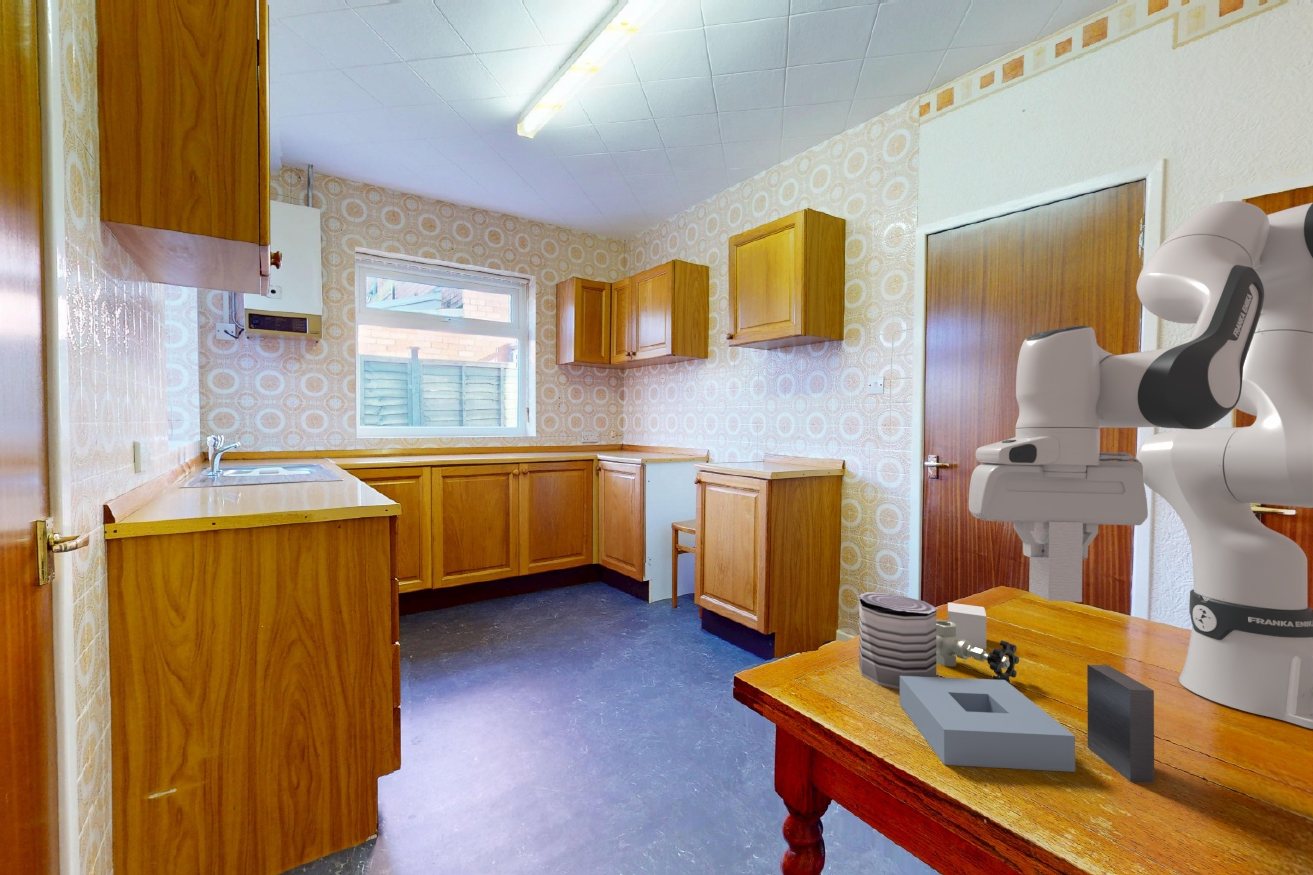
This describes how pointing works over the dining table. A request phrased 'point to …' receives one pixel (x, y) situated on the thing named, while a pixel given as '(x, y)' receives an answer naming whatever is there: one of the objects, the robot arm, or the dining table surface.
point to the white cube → (969, 623)
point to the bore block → (985, 724)
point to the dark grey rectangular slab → (1121, 722)
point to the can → (896, 638)
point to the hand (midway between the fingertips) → (1054, 557)
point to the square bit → (1057, 561)
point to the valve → (973, 651)
